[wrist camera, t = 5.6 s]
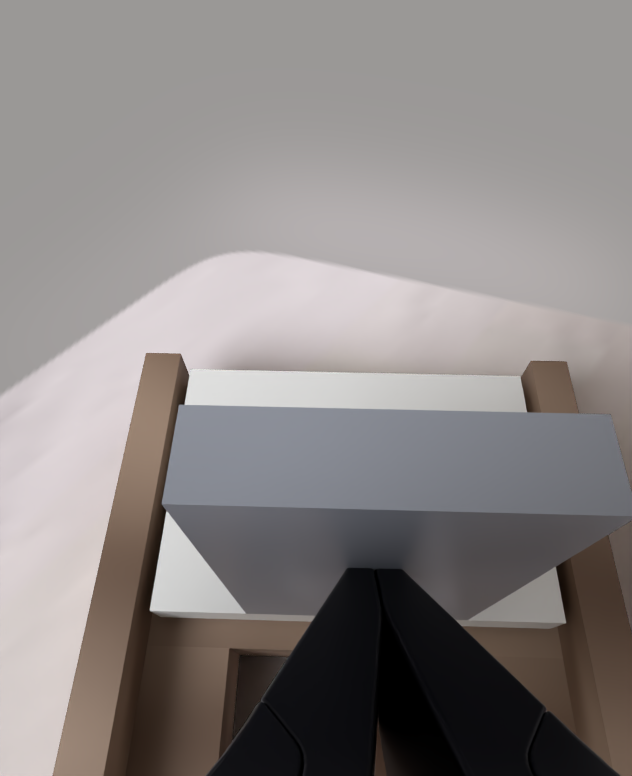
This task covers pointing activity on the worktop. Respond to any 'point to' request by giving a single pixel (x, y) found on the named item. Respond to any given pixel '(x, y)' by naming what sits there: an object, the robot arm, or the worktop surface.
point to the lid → (379, 494)
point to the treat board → (294, 627)
